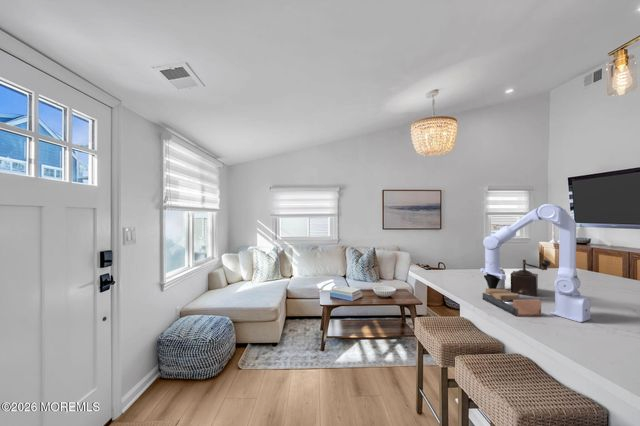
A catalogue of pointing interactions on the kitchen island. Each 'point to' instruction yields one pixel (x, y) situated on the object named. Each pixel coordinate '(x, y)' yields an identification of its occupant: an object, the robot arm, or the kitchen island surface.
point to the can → (501, 282)
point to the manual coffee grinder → (527, 279)
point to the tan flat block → (502, 294)
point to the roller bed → (516, 305)
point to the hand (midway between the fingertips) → (492, 291)
